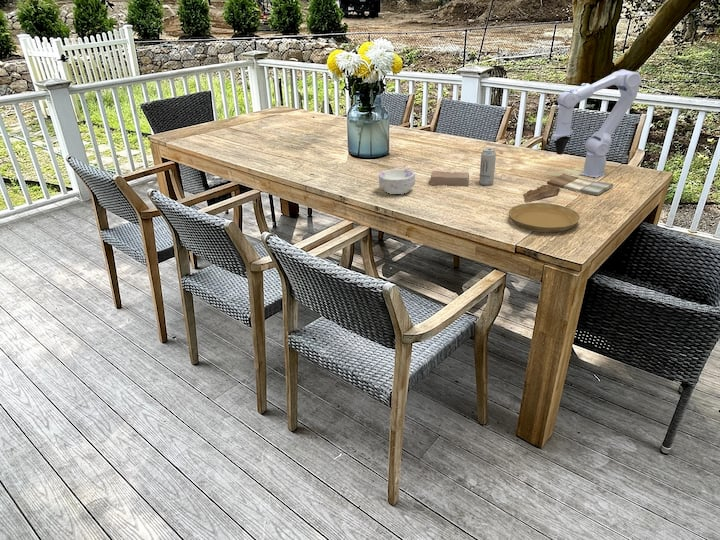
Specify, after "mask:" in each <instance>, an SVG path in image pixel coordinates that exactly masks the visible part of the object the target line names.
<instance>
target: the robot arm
mask: <svg viewBox="0 0 720 540" xmlns="http://www.w3.org/2000/svg"><path fill="white" fill-rule="evenodd" d="M642 82H643V81H642V77H641V75H640V73H639V72H637V71H631V70H627V69H624V68H623V69H619V70H617V71H614V72H612V73H611V74H609V75H607V76H605V77H604V78H601V79H599V80H597V81H596V82H593V83H591V84H590V83H585V82H583V83H581V84H580V86H578V87H575V88H570V89H569V91H562V92H561V93H560V94H559V95H558V97H557V98H556V102H557V104H558V111H557V118H556V125H555V130H553V131H552V135H551V141H553V142H554V145H555V151H556V154H557V155H560V156H561V155H563V153H564V151H565V148H566V146H567V144H568V143H569V141H570V140H571V136H570V135H573V133H574V129H571V127H572V120H573V116H574V115H573V114H574V113H573V112H574V107H575V106H576V105H577V104H578V103H580V102H582V101H585V100H587V99H589V98H592V97H593V96H594V93H596V92H598V91H601V90H603V89H607V88H609V87H611V86H616V88H618V90H619V94H620V97H619V98H618V100H617V101H616V103H615V105H614V106H613V108H612V110H611V111H610V113H609V114H608V116H607V118H606V119H605V121H604V122H603V124H602V125H601V126H600V127H599V130H597V131H596V132H593V134H591V137H589V138H588V139H587V140H585V141H586V142H585V143H584V148H585V150H586V156H585V162H584V168H583V171H582V172H580V173H578V174H579V176H584V175H585V177H588V176H589V177H590V178H593V177H595V179H598V178H599V176H600V177H601V175H602V176H604V175H605V174H607V172H606V170H605V168H606V162H607V157H606V154H608V153H609V151H610V146H611V144H612V142H613V141H612V135H613V133H614V132H615V131H616V129H617V127H618V126H619V124H620V123H621V121H622V120H623V118H624V116H625V115H626V114H627V112H628V111H629V109H630V108H631V105H632V104H633V103H634V101H635V100H636V98H637V95H638V91H639V88H640V85H641V84H642ZM603 174H604V175H603Z"/></svg>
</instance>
